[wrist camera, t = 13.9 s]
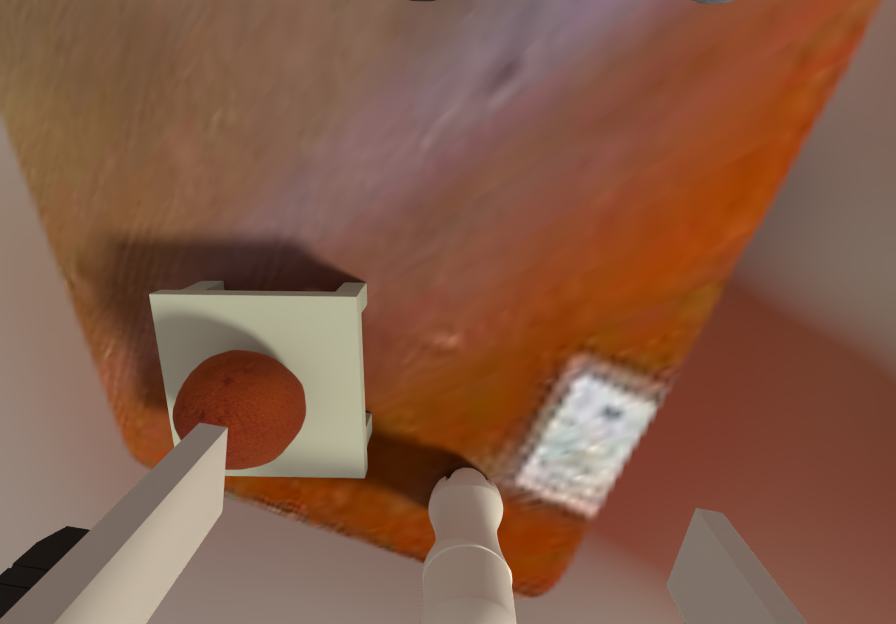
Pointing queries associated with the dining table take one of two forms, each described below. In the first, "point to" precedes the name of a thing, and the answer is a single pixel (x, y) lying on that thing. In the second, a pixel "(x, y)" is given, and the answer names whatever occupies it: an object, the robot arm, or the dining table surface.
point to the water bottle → (466, 555)
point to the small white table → (295, 346)
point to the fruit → (243, 405)
